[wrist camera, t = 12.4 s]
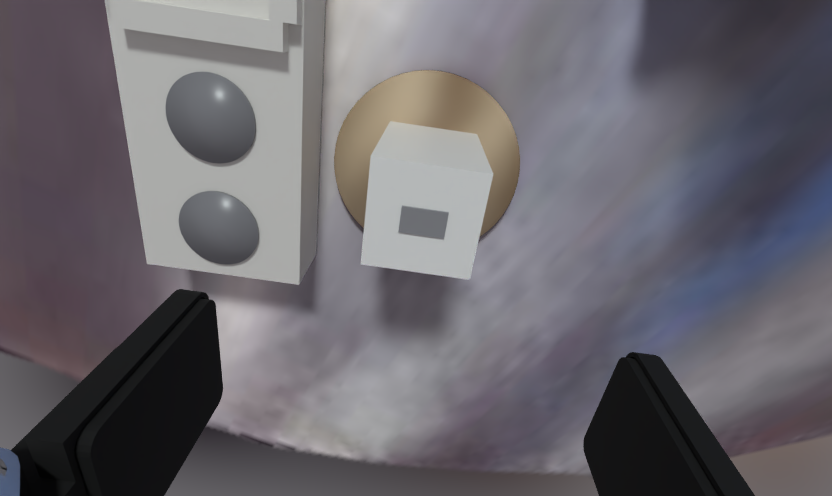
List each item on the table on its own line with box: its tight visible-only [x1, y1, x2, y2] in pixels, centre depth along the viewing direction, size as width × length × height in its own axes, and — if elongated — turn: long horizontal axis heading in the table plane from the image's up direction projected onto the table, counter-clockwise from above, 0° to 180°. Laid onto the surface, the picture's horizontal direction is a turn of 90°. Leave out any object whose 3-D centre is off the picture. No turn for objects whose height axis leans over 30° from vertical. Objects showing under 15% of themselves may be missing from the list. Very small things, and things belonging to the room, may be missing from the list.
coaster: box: [334, 70, 520, 237], centre depth 26 cm, size 11×11×1 cm
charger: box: [361, 121, 493, 280], centre depth 22 cm, size 5×5×8 cm
